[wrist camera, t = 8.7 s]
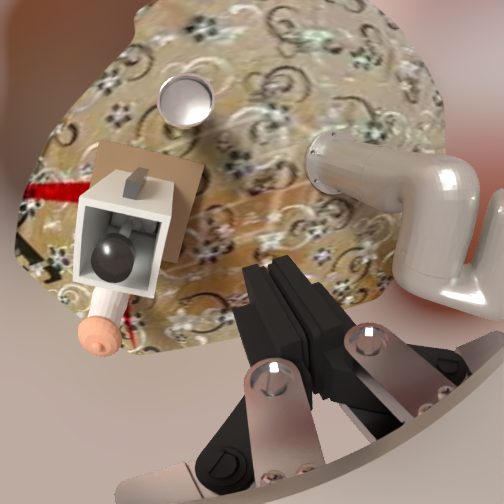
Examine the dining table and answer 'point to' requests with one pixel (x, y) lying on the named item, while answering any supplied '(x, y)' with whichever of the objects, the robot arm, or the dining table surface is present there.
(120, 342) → the salt shaker
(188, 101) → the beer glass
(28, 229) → the dining table surface
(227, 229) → the dining table surface
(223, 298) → the dining table surface
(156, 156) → the white pen holder
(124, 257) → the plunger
